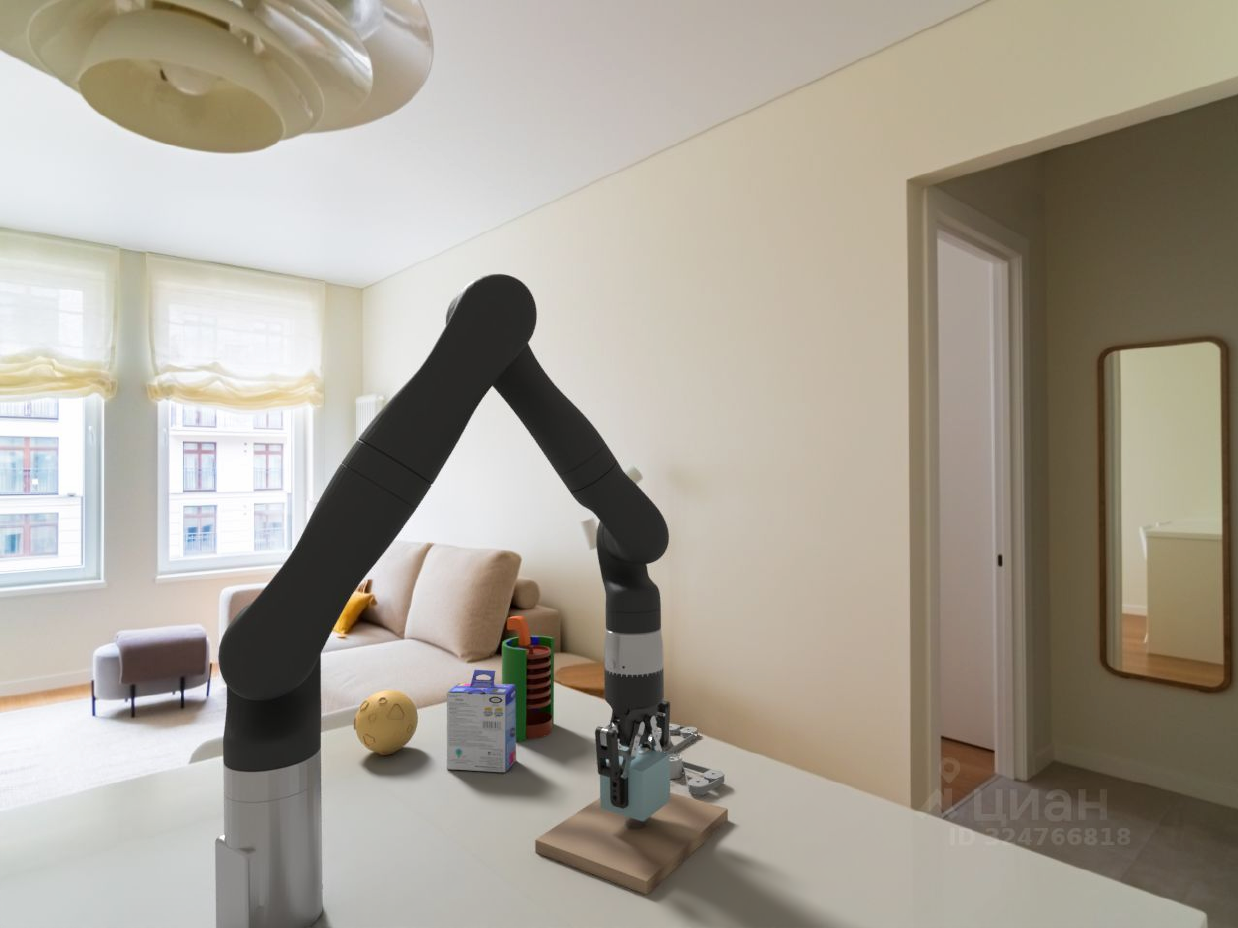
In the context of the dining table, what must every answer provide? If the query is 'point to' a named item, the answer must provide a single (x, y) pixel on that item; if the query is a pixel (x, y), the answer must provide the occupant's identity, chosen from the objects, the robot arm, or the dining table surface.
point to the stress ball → (386, 721)
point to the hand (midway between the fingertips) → (635, 794)
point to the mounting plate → (632, 841)
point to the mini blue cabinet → (641, 784)
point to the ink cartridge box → (481, 725)
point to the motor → (530, 679)
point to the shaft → (634, 823)
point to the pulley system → (676, 764)
